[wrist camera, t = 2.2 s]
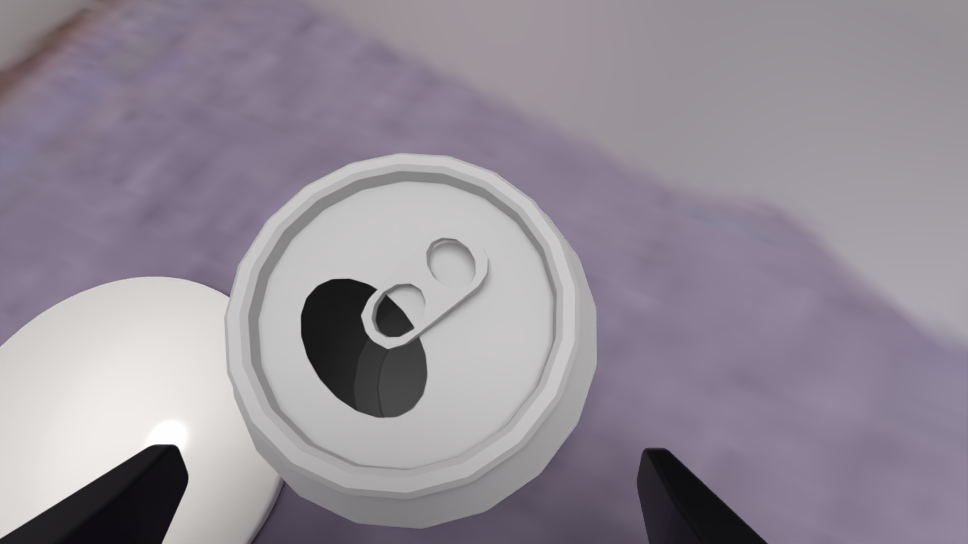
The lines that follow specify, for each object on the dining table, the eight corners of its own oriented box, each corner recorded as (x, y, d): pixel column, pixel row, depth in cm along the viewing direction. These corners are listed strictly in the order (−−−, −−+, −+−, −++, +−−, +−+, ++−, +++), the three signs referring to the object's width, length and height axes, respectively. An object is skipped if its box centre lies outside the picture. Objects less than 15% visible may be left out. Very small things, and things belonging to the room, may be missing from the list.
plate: (75, 735, 15) (48, 754, 14) (-106, 454, 18) (-138, 455, 17) (363, 424, 19) (356, 423, 18) (170, 229, 22) (156, 220, 21)
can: (323, 373, 19) (97, 277, 8) (461, 263, 21) (435, 56, 10) (436, 527, 17) (346, 687, 6) (578, 392, 19) (716, 321, 8)
